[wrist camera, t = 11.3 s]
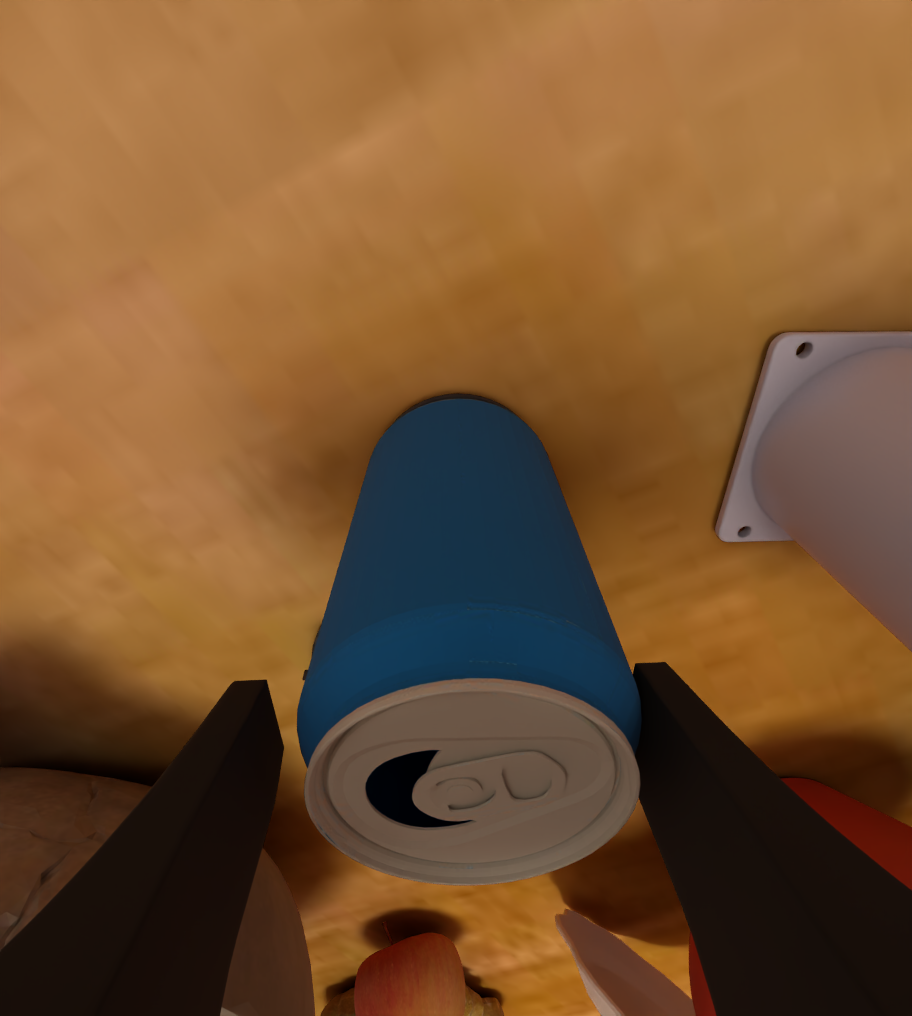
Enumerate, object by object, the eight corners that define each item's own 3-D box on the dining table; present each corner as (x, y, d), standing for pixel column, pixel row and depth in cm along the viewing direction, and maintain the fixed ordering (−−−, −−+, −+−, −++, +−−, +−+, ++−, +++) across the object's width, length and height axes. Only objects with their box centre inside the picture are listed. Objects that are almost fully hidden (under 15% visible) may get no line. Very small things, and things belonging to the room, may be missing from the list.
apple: (503, 1052, 33) (471, 901, 39) (420, 1076, 29) (398, 902, 35) (422, 1083, 36) (404, 936, 42) (335, 1109, 31) (328, 941, 37)
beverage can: (341, 421, 18) (200, 721, 8) (526, 366, 17) (644, 622, 7) (404, 566, 21) (363, 917, 11) (562, 527, 20) (681, 866, 10)
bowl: (274, 649, 23) (181, 911, 15) (383, 929, 37) (368, 1148, 29) (-321, 711, 24) (-743, 999, 15) (5, 964, 38) (-121, 1189, 29)
